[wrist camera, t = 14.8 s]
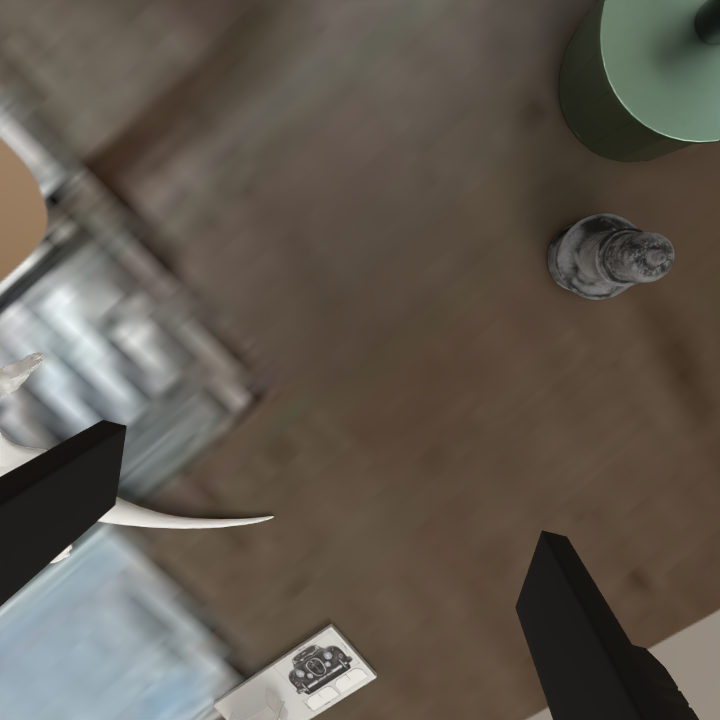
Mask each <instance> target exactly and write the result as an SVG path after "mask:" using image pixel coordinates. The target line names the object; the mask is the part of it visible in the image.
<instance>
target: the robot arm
mask: <svg viewBox="0 0 720 720" xmlns="http://www.w3.org/2000/svg"><path fill="white" fill-rule="evenodd" d="M126 427H127V426H125V425H121V424H117V423H113V422H109V421H105V420H102V421H100V422H98V423H97V424H95V425H93V426H91V427H89V428H87V429H86V430H84V431H82V432H80V433H78V434H77V435H75V436H73V437H71V438H69V439H68V440H66V441H64V442H62V443H60V444H59V445H57V446H55V447H53V448H51V449H49V450H48V451H46V452H44V453H42V454H40V455H39V456H37V457H35V458H33V459H31V460H30V461H28V462H26V463H24V464H22V465H21V466H19V467H17V468H15V469H13V470H11V471H10V472H8V473H6V474H4V475H2V476H1V477H0V606H1V605H2V604H4V603H5V602H6V601H7V600H8V599H9V598H10V597H12V596H13V595H14V594H15V593H16V592H17V591H18V590H20V589H21V588H22V587H23V586H24V585H25V584H26V583H27V582H29V581H30V580H31V579H32V578H33V577H34V576H35V575H37V574H38V573H39V572H40V571H41V570H42V569H43V568H45V567H46V566H47V565H48V564H49V563H50V562H51V561H53V560H54V559H55V558H56V557H57V556H58V555H59V554H60V553H62V552H63V551H64V550H65V549H66V548H67V547H68V546H70V545H71V544H72V543H73V542H74V541H75V540H76V539H78V538H79V537H80V536H81V535H82V534H83V533H84V532H86V531H87V530H88V529H89V528H90V527H91V526H92V525H93V524H95V523H96V522H97V521H98V520H99V519H100V518H101V517H103V516H104V515H105V514H106V513H107V512H108V511H109V510H111V509H112V508H113V507H114V506H115V505H116V497H117V490H118V483H119V476H120V469H121V462H122V455H123V448H124V441H125V434H126ZM515 608H516V611H517V614H518V617H519V620H520V623H521V626H522V629H523V632H524V635H525V637H526V640H527V643H528V646H529V649H530V652H531V655H532V658H533V661H534V664H535V667H536V670H537V673H538V676H539V679H540V682H541V685H542V688H543V691H544V694H545V697H546V700H547V703H548V706H549V709H550V712H551V715H552V717H553V720H699V719H698V717H697V716H696V714H695V713H694V711H693V710H692V708H690V707H689V706H688V705H689V703H688V702H687V700H686V699H685V697H684V696H683V694H682V693H681V691H678V687H677V685H676V683H675V682H674V680H673V679H672V677H671V676H670V674H669V673H668V671H667V670H666V668H665V667H664V666H663V665H662V664H661V663H660V662H659V661H658V660H657V659H656V658H655V657H654V656H653V655H652V654H651V653H650V652H649V651H648V650H647V649H646V648H642V647H638V646H634V645H632V644H631V642H630V640H629V639H628V637H627V635H626V634H625V632H624V630H623V629H622V627H621V625H620V624H619V622H618V620H617V619H616V617H615V616H614V614H613V612H612V611H611V609H610V607H609V606H608V604H607V602H606V601H605V599H604V597H603V596H602V594H601V592H600V591H599V589H598V587H597V586H596V584H595V582H594V581H593V579H592V577H591V576H590V574H589V573H588V571H587V569H586V568H585V566H584V564H583V563H582V561H581V559H580V558H579V556H578V554H577V553H576V551H575V549H574V548H573V546H572V544H571V543H570V541H569V539H568V538H567V537H566V536H562V535H558V534H554V533H550V532H546V531H542V532H541V535H540V538H539V541H538V544H537V546H536V549H535V552H534V555H533V558H532V561H531V564H530V567H529V570H528V573H527V575H526V578H525V581H524V584H523V587H522V590H521V593H520V596H519V599H518V601H517V604H516V607H515Z"/></svg>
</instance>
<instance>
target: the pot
mask: <svg viewBox="0 0 720 720" xmlns="http://www.w3.org/2000/svg"><path fill="white" fill-rule="evenodd" d="M602 2H603V0H598V1H597V3H596V4H595V5H594V7H593V8H592V9H591V10H590V12H589V13H588V14H587V15H586V17H585V18H584V19H583V21H582V22H581V23H580V25H579V26H578V28H577V30H576V32H575V34H574V36H573V37H572V39H571V41H570V43H569V45H568V47H567V49H566V52H565V54H564V57H563V61H562V64H561V69H560V75H559V98H560V103H561V108H562V111H563V114H564V117H565V120H566V122H567V124H568V125H569V127H570V129H571V130H572V132H573V133H574V135H575V136H576V137H577V138H578V139H579V140H580V141H581V142H582V144H584V145H585V146H586V147H588V148H589V149H590V150H592V151H593V152H595V153H597V154H599V155H601V156H603V157H606V158H609V159H613V160H617V161H626V162H635V161H648V160H651V159H654V158H657V157H659V156H662V155H665V154H667V153H670V152H673V151H675V150H678V149H681V148H683V147H686V146H689V145H691V144H692V143H681V142H676V141H672V140H667V139H664V138H662V137H659V136H657V135H654V134H652V133H650V132H648V131H647V130H645V129H643V128H641V127H640V126H639V125H637V124H636V123H635V122H634V121H632V120H631V119H630V118H629V117H628V116H627V115H626V114H625V113H624V112H623V111H622V110H621V109H620V107H619V106H618V104H617V103H616V101H615V100H614V99H613V97H612V95H611V93H610V91H609V89H608V87H607V85H606V83H605V80H604V77H603V74H602V71H601V67H600V62H599V57H598V47H597V31H598V20H599V15H600V9H601V5H602Z"/></svg>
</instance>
